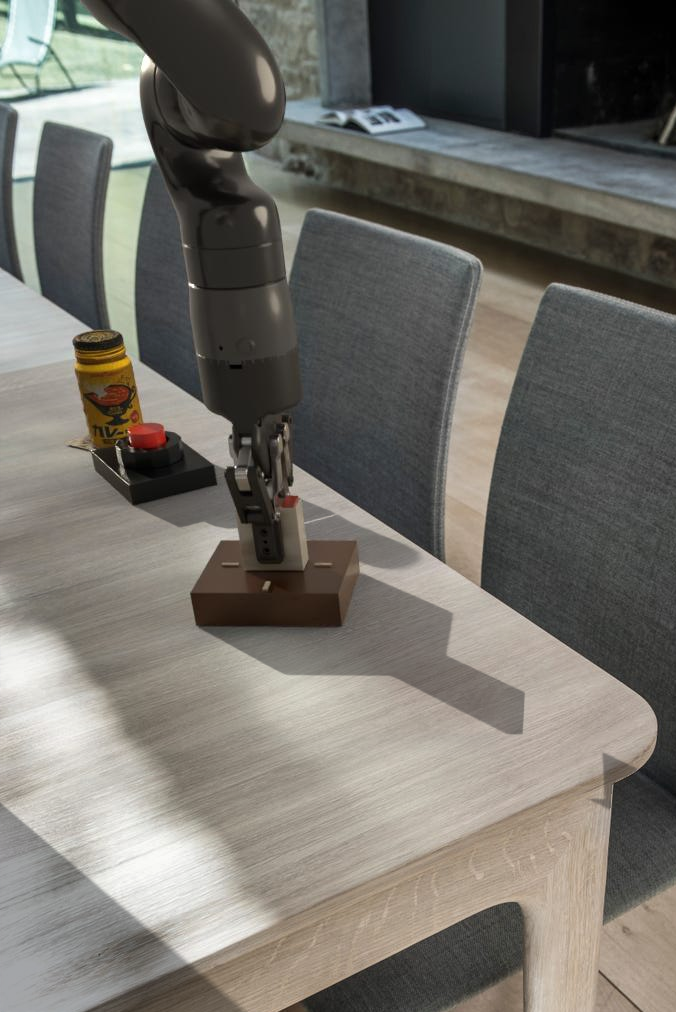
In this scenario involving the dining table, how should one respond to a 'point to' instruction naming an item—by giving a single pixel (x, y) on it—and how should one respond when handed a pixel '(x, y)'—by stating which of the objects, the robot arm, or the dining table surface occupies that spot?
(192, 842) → the dining table surface
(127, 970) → the dining table surface
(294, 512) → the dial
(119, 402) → the condiment
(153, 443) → the button
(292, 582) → the brown flat block
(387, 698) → the dining table surface
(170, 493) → the button box
